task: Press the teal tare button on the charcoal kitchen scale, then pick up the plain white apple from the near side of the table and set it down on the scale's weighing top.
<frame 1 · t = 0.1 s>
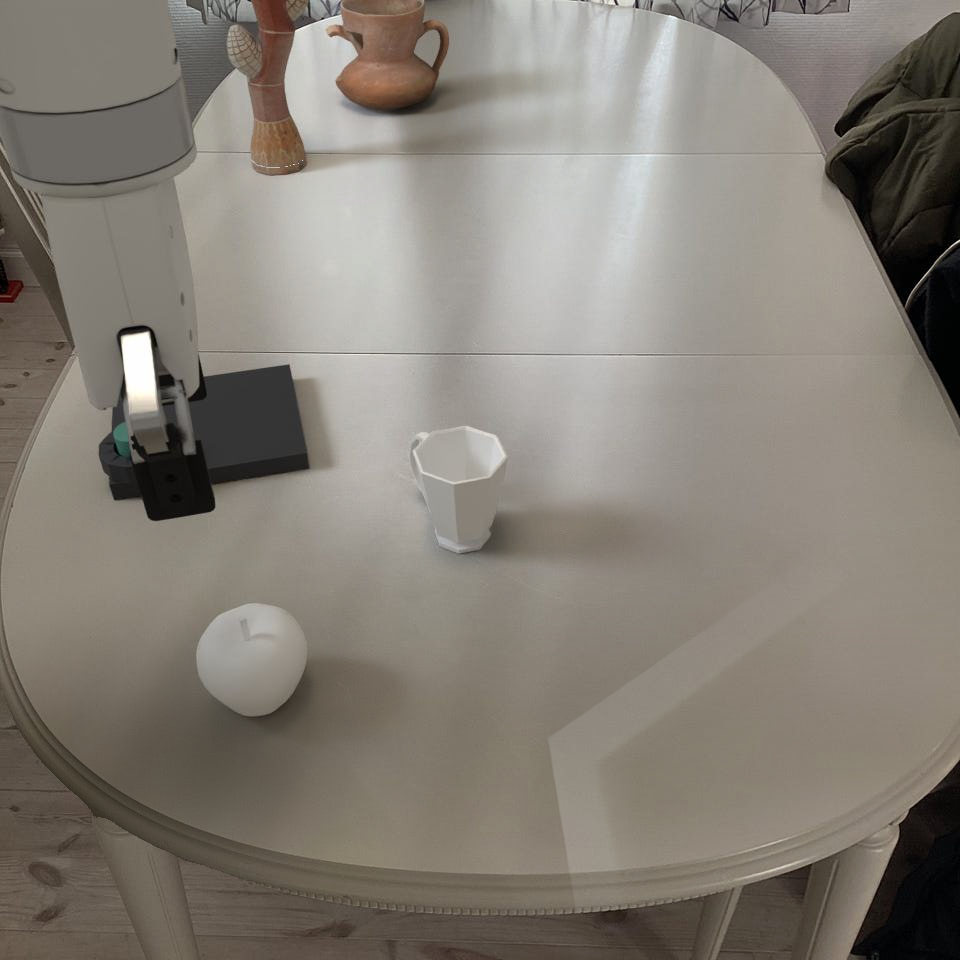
hand: (180, 453, 53), 21 cm above the table, tool pointing down, fingers open, 9 cm apart
tare button: (134, 438, 83), point 4 cm above the table, slide at 0.1 cm
plain white apple: (261, 694, 68), on the table
cup: (451, 526, 80), on the table
vase: (287, 165, 136), on the table
ceramic jug: (392, 102, 155), on the table
scale: (209, 435, 90), on the table
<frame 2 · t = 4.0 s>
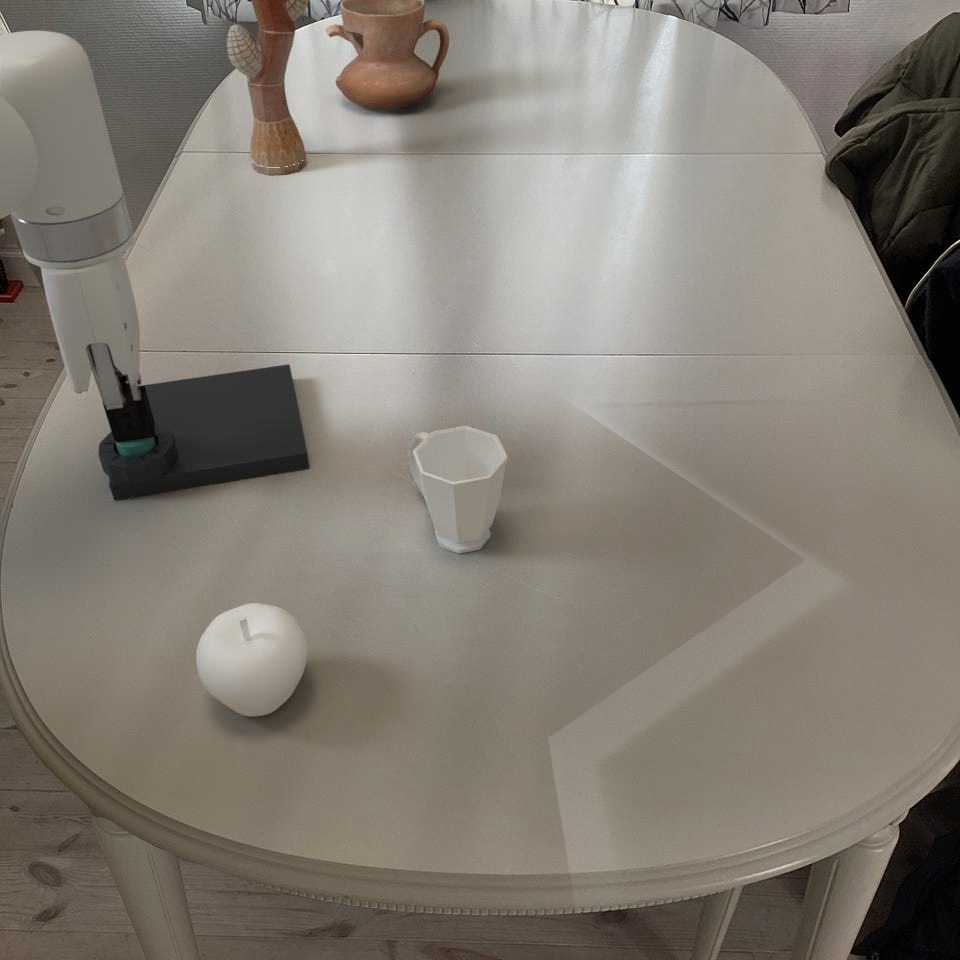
hand: (135, 433, 83), 4 cm above the table, tool pointing down, fingers closed
tare button: (136, 443, 83), point 3 cm above the table, slide at -0.4 cm, touching gripper
everything else where it was.
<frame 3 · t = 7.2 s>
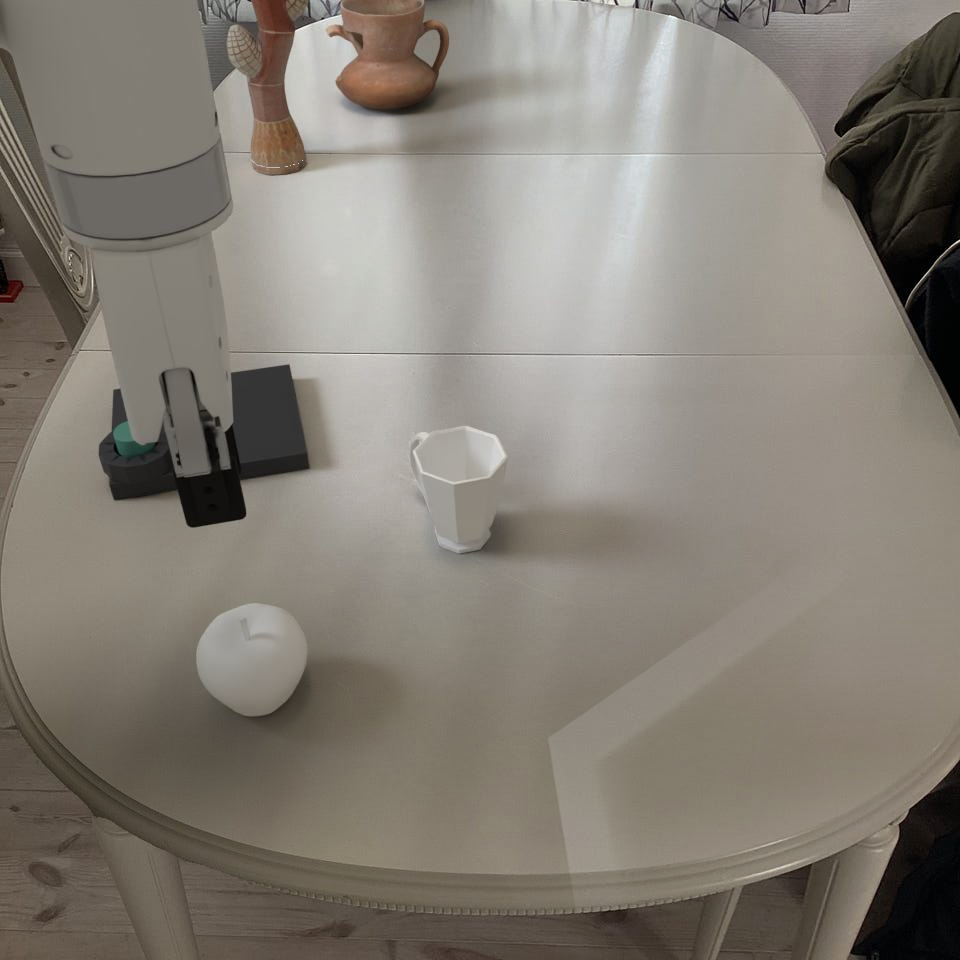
hand: (215, 495, 57), 17 cm above the table, tool pointing down, fingers open, 3 cm apart
tare button: (134, 438, 83), point 4 cm above the table, slide at 0.1 cm
everything else where it was.
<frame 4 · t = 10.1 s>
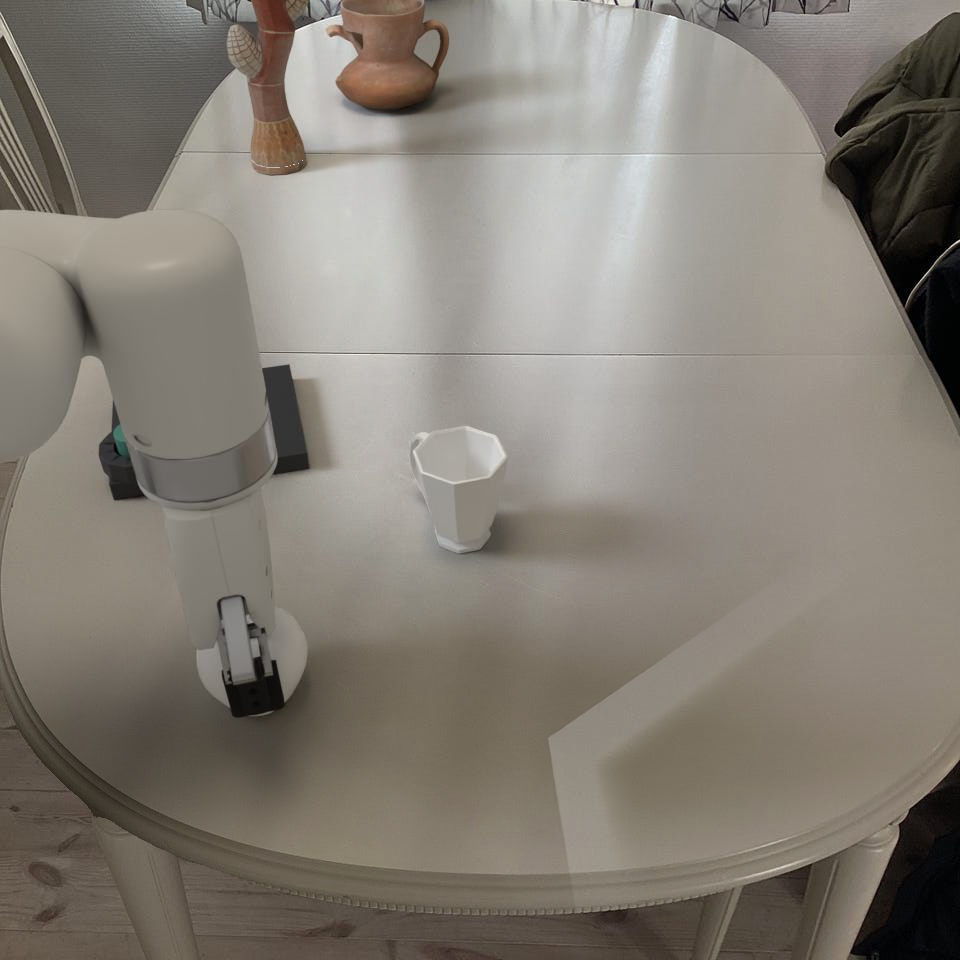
hand: (253, 660, 66), 3 cm above the table, tool pointing down, fingers closed on plain white apple, 7 cm apart
plain white apple: (261, 694, 68), on the table, touching gripper
everything else where it was.
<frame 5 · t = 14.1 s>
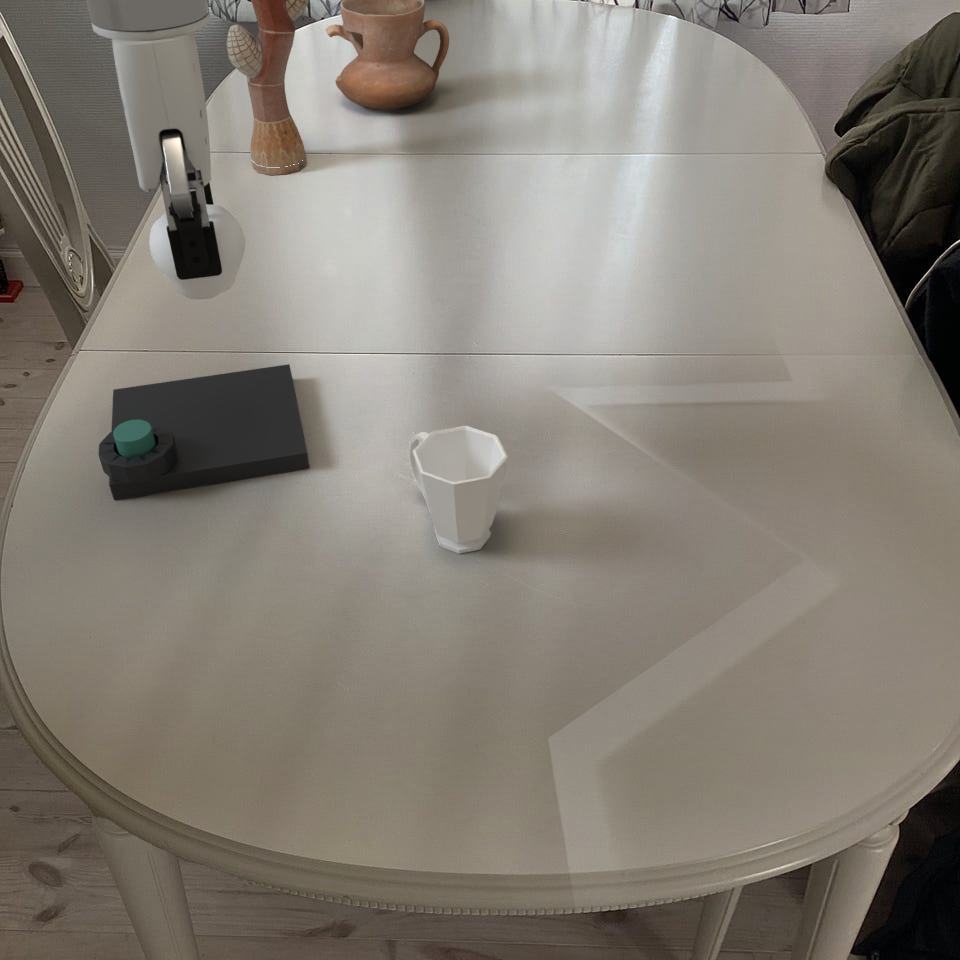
hand: (198, 250, 77), 19 cm above the table, tool pointing down, fingers closed on plain white apple, 7 cm apart
plain white apple: (207, 290, 79), point 15 cm above the table, touching gripper
everything else where it was.
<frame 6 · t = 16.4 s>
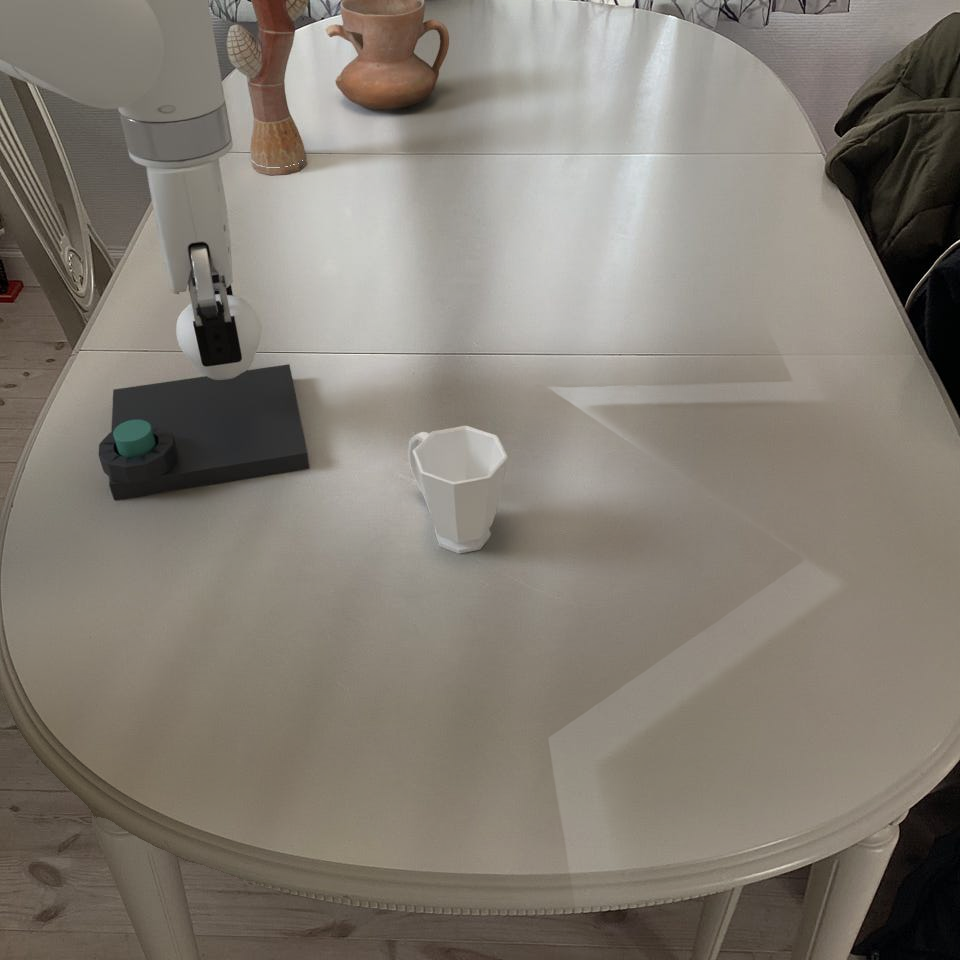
hand: (219, 336, 86), 9 cm above the table, tool pointing down, fingers closed on plain white apple, 7 cm apart
plain white apple: (227, 370, 88), point 5 cm above the table, touching gripper
everything else where it was.
when the fingers open (5 cm above the table, at t = 18.2 s): plain white apple stays where it is, resting on scale.
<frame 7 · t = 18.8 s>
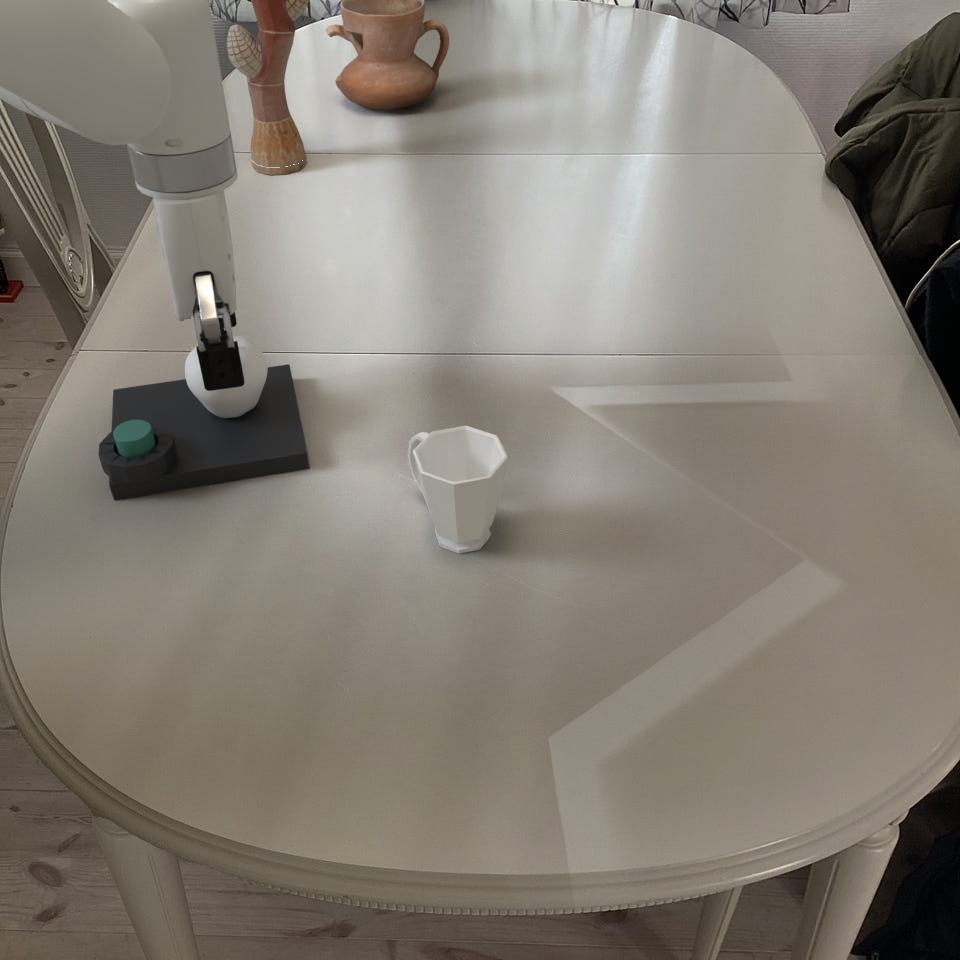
hand: (221, 355, 87), 7 cm above the table, tool pointing down, fingers open, 9 cm apart
plain white apple: (234, 407, 90), point 2 cm above the table, touching scale
everything else where it was.
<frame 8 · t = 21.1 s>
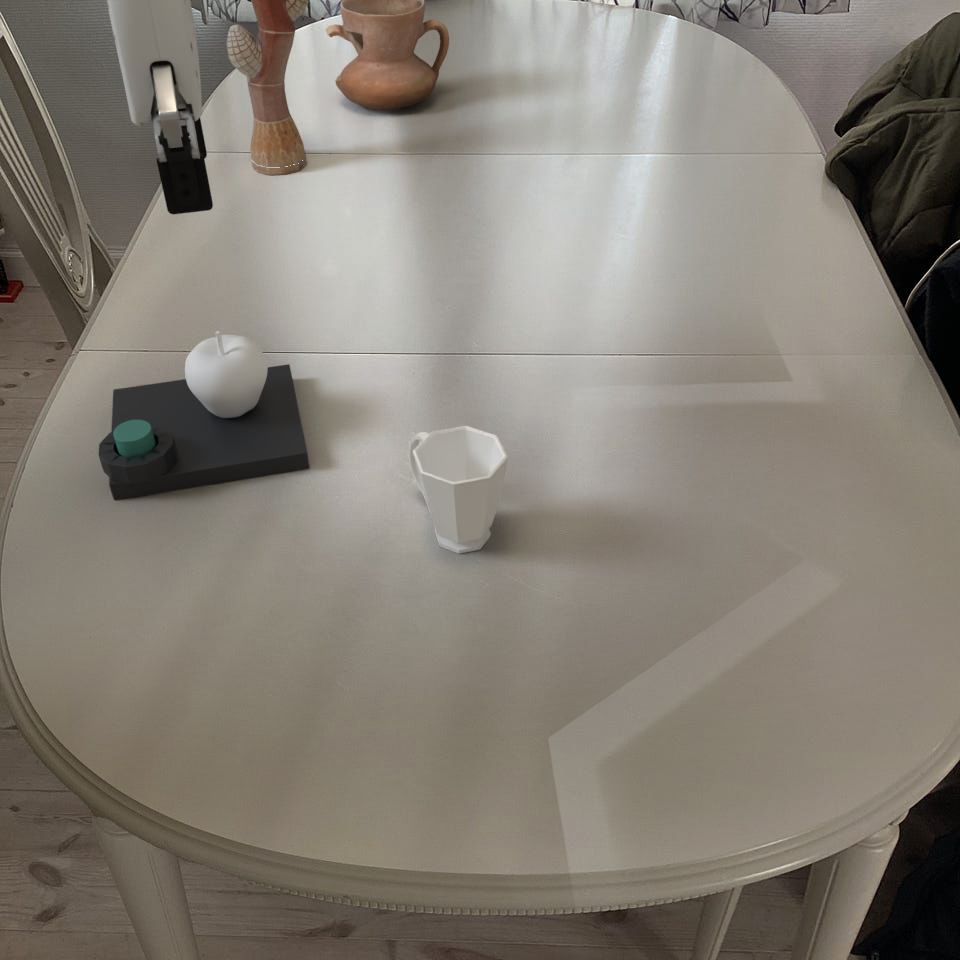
hand: (188, 183, 77), 22 cm above the table, tool pointing down, fingers open, 9 cm apart
nothing on the table moved.
at the end: tare button pushed in 1.1 cm at the most during the clip, back to where it started at the end; plain white apple inside the target area on the scale (1.6 cm from its centre), point 1.5 cm above the scale's base; plain white apple touching scale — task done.
